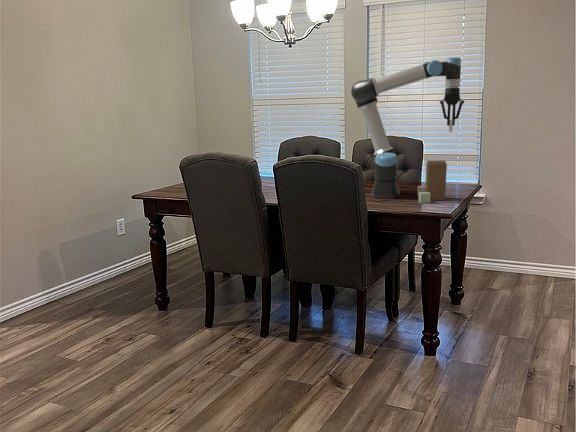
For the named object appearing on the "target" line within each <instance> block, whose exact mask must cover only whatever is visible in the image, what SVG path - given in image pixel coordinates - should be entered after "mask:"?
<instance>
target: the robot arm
mask: <svg viewBox="0 0 576 432" xmlns="http://www.w3.org/2000/svg"><path fill="white" fill-rule="evenodd" d="M461 67H462V60H461V58H460V57H447V58H446V61H439V60H431V61H428V62H424V63H423V64H420V65H416V66H414V67H413V66H412V67H410V68H406V69H404V70H401V71H397V72H395V73H391V74H388V75H386V76H382V77H379V78H374V77H371V78H368V79H364V80H362V79H361V80H358V81H357V82H354V84H353V85H352V87H351V91H350V93H351V96H352V99H354V101H355V103H356V104H355V105H356V107H357V109H359V110H360V111H361V113H362V115H363V118H364V122H365V125H366V128H367V131H368V134H369V137H370V139H371V143H372V146H373V149H374V153H373V158H374V162H375V166H374V167H375V168H374V169H375V170H374V171H375V172H374V173H375V174H374V178H375V179H374V184H373V188H372V190H371V197H372V198H375V199H382V200H385V199H387V200H390V199H398V198H400V197H401V196H400V193H401V192H400V189H399V187H398V183H397V182H398V181H397V179H398V167H399V159H398V155H397V154H396V152H395V149H394V147H393V146H391V145H390V142H389V140H388V137H387V133H386V131H385V128H384V124H383V121H382V119H381V115H380V112H379V109H378V106H377V104H378V98H377V97H378V96H379V95H380V94H382V93H385V92H387V91H392V90H395V89H398V88H401V87H403V86H407V85H411V84H414V83H417V82H419V81H422V80H423V81H424V80H425V79H426V80H427V79H429V78H433V77H435V78H436V77H445V83H444V85H445V88H444V89H445V90H444V97H443V99H442V100H440V101H439V104H440V105H441V110H442V115H443V118H444V119H445V120H447V121H446V125H447V126H448V133H452V132H453V127H455V124H456V123H455V122H456V120H457V119H459V116H460V113H461V111H462V107H463V105H464V103H465V101H464V100H462V99H461V97H460V91H461V88H460V86H461V71H462V70H461V69H462V68H461ZM445 103H446V105H447V113H446V108H445ZM458 103H459V105H458V108H457V111H456V107H457V104H458ZM451 106H452V111H451ZM451 112H452V113H451ZM451 115H452V116H451Z"/></svg>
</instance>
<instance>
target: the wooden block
mask: <svg viewBox="0 0 576 432" xmlns="http://www.w3.org/2000/svg"><path fill="white" fill-rule="evenodd" d="M425 164H426V165H425V185H424V186H425V192H429V193H431V199H430V201H445V200H446V186H447V165H448V164H447V162H446V161H445V160H426V163H425Z"/></svg>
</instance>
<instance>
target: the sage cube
mask: <svg viewBox="0 0 576 432" xmlns="http://www.w3.org/2000/svg"><path fill="white" fill-rule="evenodd" d="M430 199H431V193H429V192H419V196H418V202H419V203H420V204H431V200H430Z"/></svg>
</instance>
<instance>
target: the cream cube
mask: <svg viewBox="0 0 576 432" xmlns="http://www.w3.org/2000/svg"><path fill="white" fill-rule="evenodd" d="M416 191H417V193H416V194H417V195H416V196H417V197H419V192H425V185H417V190H416Z"/></svg>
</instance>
